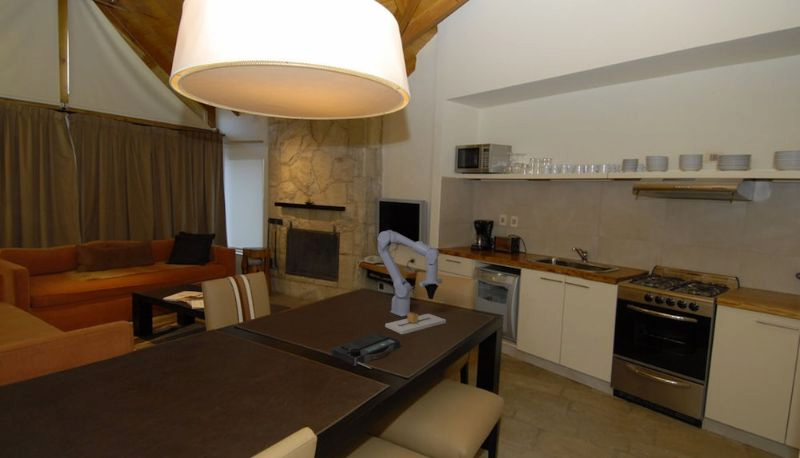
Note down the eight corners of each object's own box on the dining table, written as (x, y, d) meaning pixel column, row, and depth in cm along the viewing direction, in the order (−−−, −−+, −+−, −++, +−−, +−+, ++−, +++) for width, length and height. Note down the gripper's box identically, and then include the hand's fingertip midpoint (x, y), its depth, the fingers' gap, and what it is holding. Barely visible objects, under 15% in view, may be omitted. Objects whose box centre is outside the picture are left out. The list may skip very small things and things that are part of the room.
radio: (377, 329, 172) (414, 342, 159) (376, 339, 172) (413, 352, 159) (331, 345, 152) (369, 361, 140) (331, 356, 153) (368, 372, 140)
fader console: (385, 326, 187) (385, 323, 187) (428, 316, 205) (428, 313, 205) (402, 334, 178) (402, 330, 178) (445, 322, 196) (445, 319, 196)
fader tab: (407, 320, 190) (407, 312, 190) (412, 319, 192) (412, 311, 192) (413, 323, 187) (413, 314, 187) (417, 321, 189) (418, 313, 189)
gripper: (426, 275, 194) (425, 302, 196) (447, 272, 204) (446, 298, 205) (417, 272, 200) (415, 299, 201) (437, 269, 209) (436, 295, 210)
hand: (430, 298), depth 203 cm, fingers closed
